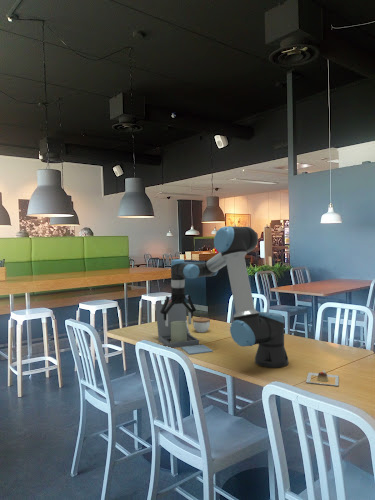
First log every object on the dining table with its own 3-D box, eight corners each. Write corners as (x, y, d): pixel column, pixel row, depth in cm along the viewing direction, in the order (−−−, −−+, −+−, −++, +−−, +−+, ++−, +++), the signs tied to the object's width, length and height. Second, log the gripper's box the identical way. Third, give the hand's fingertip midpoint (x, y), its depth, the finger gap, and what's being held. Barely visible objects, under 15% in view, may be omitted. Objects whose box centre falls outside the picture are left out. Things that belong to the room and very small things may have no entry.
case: (199, 344, 219) (198, 308, 218) (167, 348, 213) (167, 310, 212) (185, 335, 240) (184, 302, 240) (156, 338, 234) (155, 304, 234)
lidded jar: (213, 330, 252) (212, 315, 252) (204, 334, 243) (204, 318, 243) (198, 328, 258) (198, 314, 258) (189, 332, 249) (189, 317, 248)
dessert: (306, 384, 158) (305, 372, 158) (308, 375, 169) (308, 363, 169) (338, 388, 153) (338, 376, 153) (338, 378, 165) (338, 366, 165)
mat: (213, 351, 205) (213, 350, 205) (189, 354, 200) (189, 353, 200) (203, 345, 217) (203, 344, 217) (180, 348, 212) (180, 347, 212)
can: (185, 345, 218) (185, 323, 217) (169, 344, 220) (168, 323, 219) (188, 341, 227) (188, 320, 226) (172, 340, 229) (172, 319, 228)
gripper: (196, 285, 230) (196, 321, 231) (154, 287, 222) (155, 325, 222) (201, 286, 223) (201, 324, 224) (158, 289, 215) (158, 328, 215)
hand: (178, 325), depth 223 cm, fingers open, 13 cm apart
